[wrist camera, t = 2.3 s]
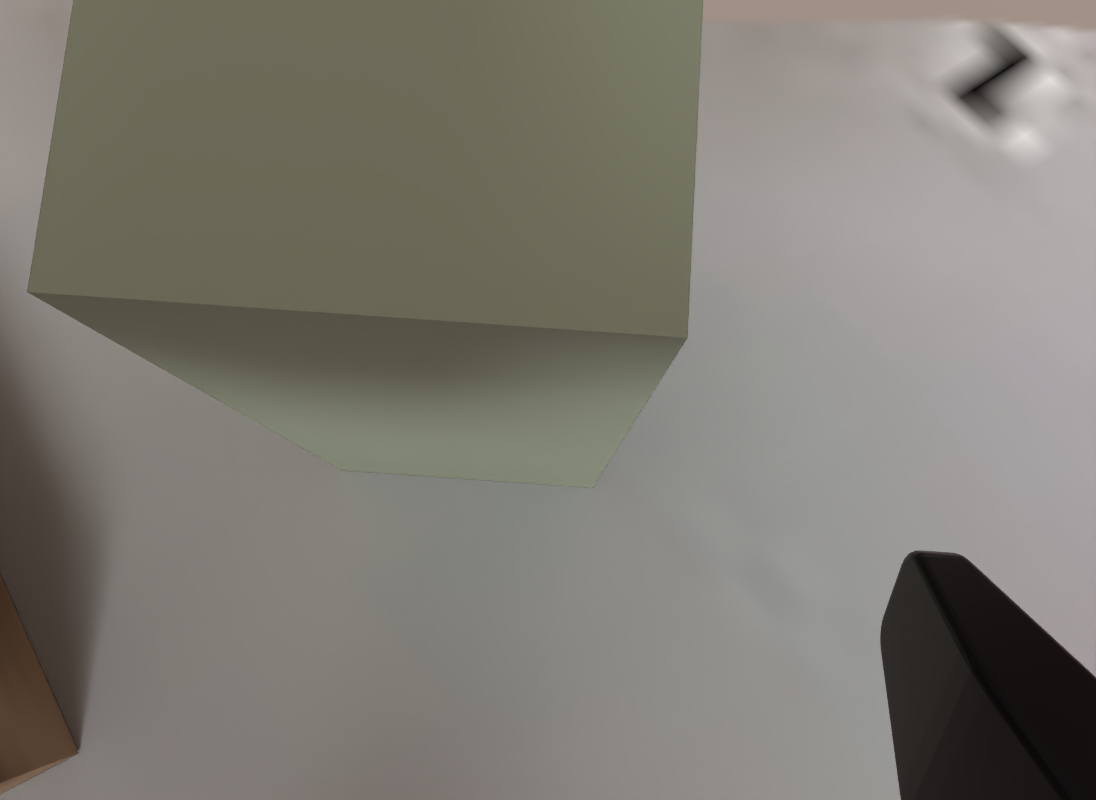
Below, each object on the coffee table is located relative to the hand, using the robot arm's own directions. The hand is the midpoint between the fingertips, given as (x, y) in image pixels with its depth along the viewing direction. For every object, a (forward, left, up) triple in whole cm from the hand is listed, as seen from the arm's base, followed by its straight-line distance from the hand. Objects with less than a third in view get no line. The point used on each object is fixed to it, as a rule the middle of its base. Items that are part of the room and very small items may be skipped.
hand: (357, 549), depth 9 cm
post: (+3, -3, -12) cm, 13 cm away
